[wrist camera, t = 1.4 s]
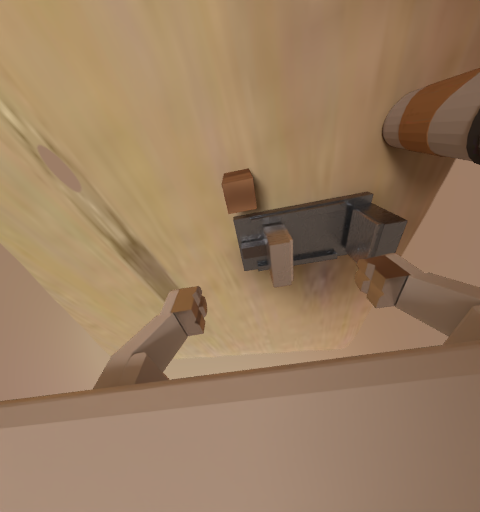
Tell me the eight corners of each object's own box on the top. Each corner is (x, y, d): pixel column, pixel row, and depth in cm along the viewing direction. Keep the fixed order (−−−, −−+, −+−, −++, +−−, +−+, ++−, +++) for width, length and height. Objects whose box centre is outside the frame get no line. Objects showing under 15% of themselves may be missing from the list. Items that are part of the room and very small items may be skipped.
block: (224, 173, 28) (221, 184, 22) (248, 168, 28) (252, 177, 22) (229, 198, 31) (228, 214, 25) (252, 193, 30) (256, 208, 24)
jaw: (238, 228, 32) (239, 250, 26) (282, 220, 31) (294, 241, 25) (245, 265, 37) (248, 291, 31) (284, 259, 36) (294, 284, 30)
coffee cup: (381, 166, 29) (495, 190, 16) (365, 115, 25) (498, 96, 12) (441, 125, 26) (633, 117, 13) (433, 61, 22) (692, -34, 10)
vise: (233, 216, 33) (233, 241, 25) (367, 191, 31) (411, 210, 23) (244, 266, 39) (246, 298, 32) (354, 248, 38) (385, 277, 30)
